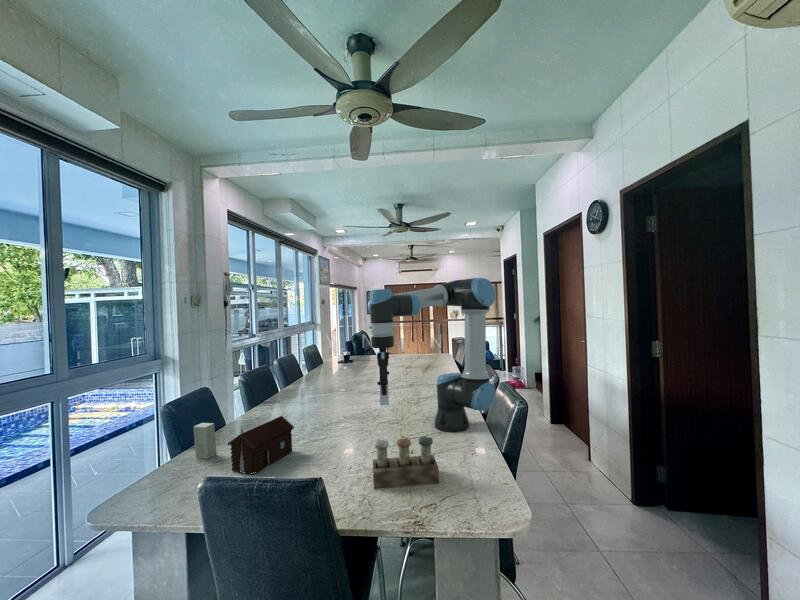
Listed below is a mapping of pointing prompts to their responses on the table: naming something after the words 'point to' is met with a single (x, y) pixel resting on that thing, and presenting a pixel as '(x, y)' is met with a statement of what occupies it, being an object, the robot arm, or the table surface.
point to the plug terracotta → (404, 451)
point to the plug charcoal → (426, 450)
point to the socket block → (405, 473)
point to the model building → (261, 445)
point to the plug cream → (382, 453)
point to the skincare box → (204, 440)
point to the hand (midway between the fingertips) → (384, 399)
